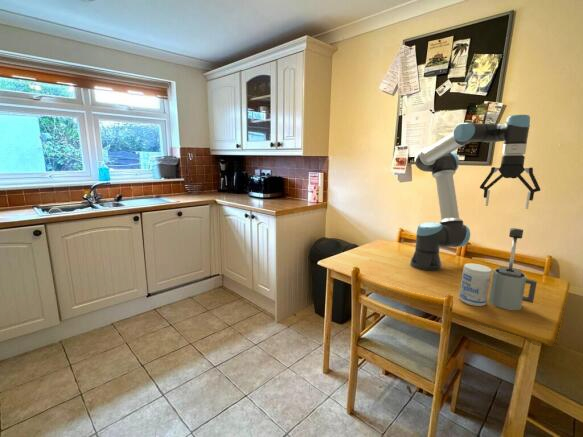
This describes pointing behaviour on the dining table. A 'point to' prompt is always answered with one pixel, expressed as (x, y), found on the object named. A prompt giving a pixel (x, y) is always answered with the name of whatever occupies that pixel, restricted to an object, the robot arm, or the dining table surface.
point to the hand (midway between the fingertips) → (506, 207)
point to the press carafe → (510, 288)
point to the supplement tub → (475, 284)
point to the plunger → (514, 245)
